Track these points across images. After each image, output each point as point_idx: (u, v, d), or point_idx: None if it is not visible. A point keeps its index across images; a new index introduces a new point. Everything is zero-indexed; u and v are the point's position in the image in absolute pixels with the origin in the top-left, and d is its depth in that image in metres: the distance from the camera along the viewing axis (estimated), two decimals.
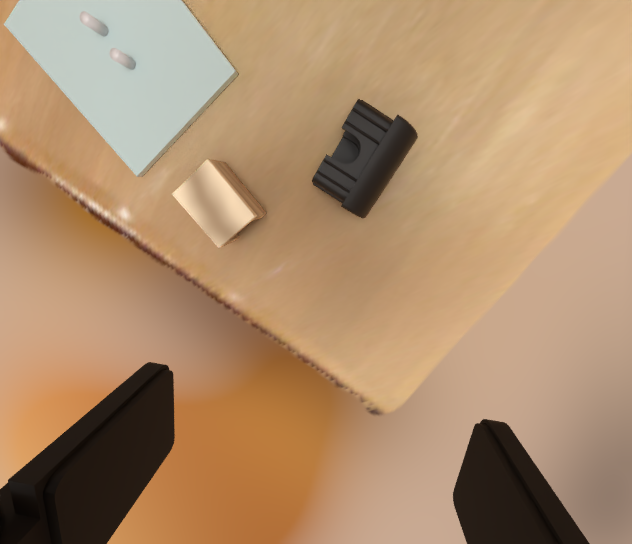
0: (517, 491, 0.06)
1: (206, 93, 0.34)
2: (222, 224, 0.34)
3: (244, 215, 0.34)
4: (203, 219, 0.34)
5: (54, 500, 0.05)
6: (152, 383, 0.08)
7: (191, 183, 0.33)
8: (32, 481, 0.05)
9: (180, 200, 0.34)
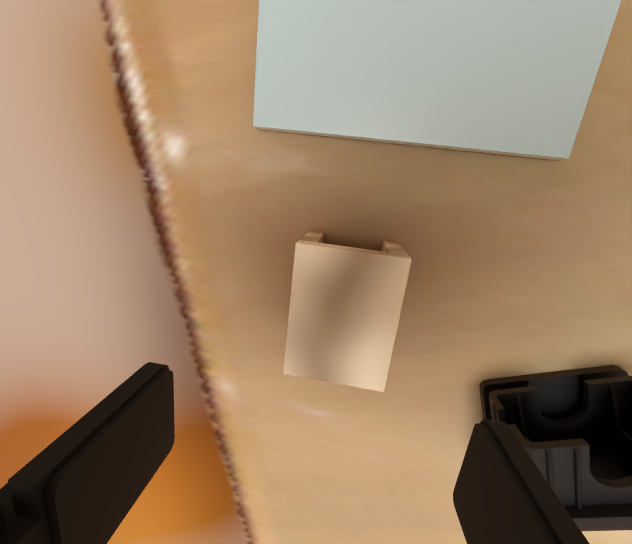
0: (517, 491, 0.06)
1: (492, 138, 0.16)
2: (325, 355, 0.17)
3: (371, 376, 0.17)
4: (304, 322, 0.17)
5: (54, 500, 0.05)
6: (152, 383, 0.08)
7: (344, 262, 0.15)
8: (32, 481, 0.05)
9: (300, 265, 0.16)
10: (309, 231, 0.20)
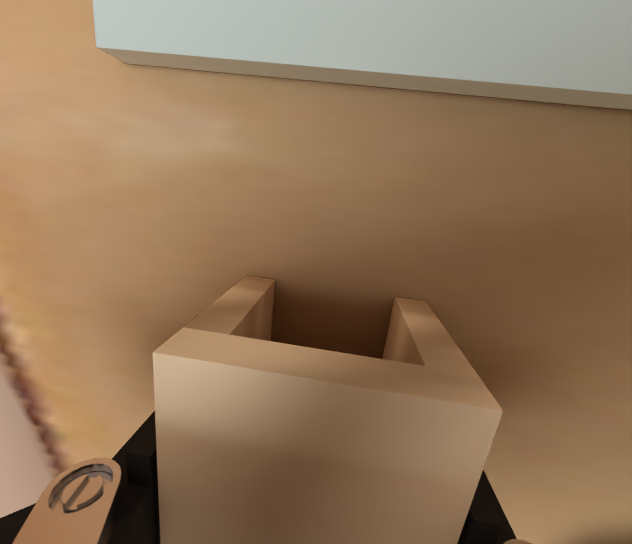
0: None
1: None
2: None
3: None
4: (200, 541, 0.06)
5: None
6: None
7: (298, 409, 0.05)
8: (145, 453, 0.06)
9: (173, 409, 0.05)
10: (243, 278, 0.10)
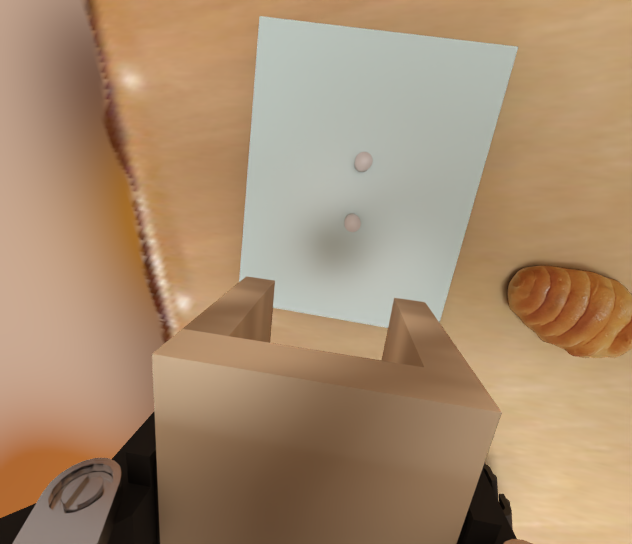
0: None
1: None
2: None
3: None
4: (199, 541, 0.06)
5: None
6: None
7: (297, 410, 0.05)
8: (146, 453, 0.06)
9: (172, 410, 0.06)
10: (243, 279, 0.10)
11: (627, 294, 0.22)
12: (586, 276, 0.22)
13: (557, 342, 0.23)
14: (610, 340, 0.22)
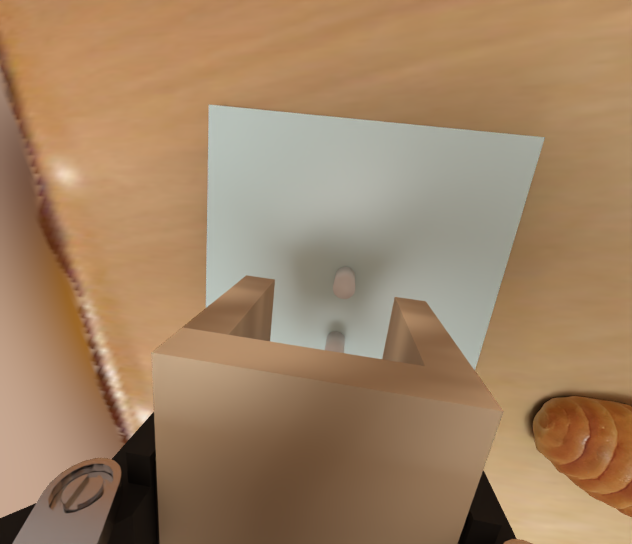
0: None
1: None
2: None
3: None
4: (199, 541, 0.06)
5: None
6: None
7: (297, 409, 0.05)
8: (146, 453, 0.06)
9: (172, 409, 0.05)
10: (243, 278, 0.10)
11: None
12: None
13: (602, 500, 0.18)
14: None
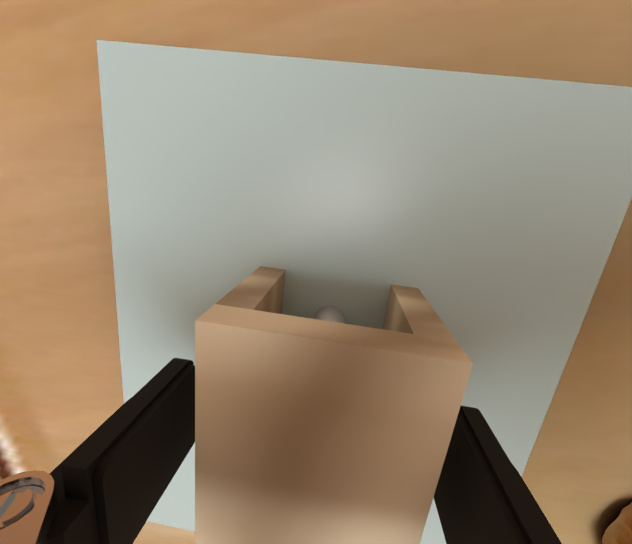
0: (481, 468, 0.07)
1: None
2: (276, 541, 0.08)
3: None
4: (228, 481, 0.08)
5: (103, 484, 0.06)
6: (180, 377, 0.08)
7: (311, 365, 0.07)
8: (83, 466, 0.06)
9: (210, 368, 0.07)
10: (258, 268, 0.11)
11: None
12: None
13: None
14: None
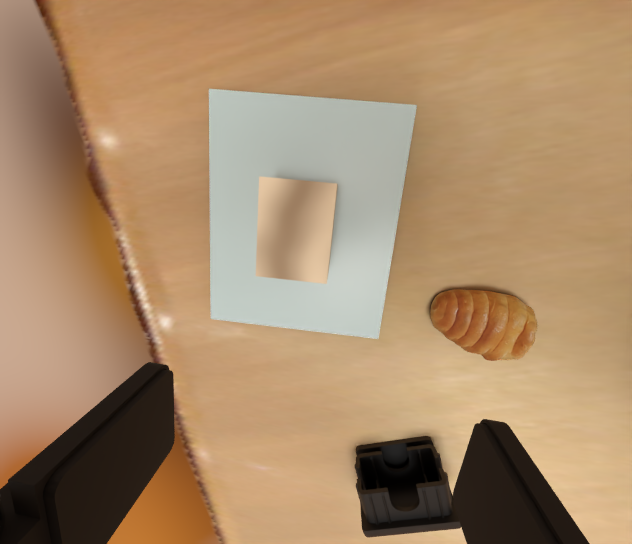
0: (517, 491, 0.06)
1: (338, 328, 0.31)
2: (284, 259, 0.24)
3: (317, 273, 0.24)
4: (268, 235, 0.24)
5: (54, 500, 0.05)
6: (152, 383, 0.08)
7: (293, 188, 0.23)
8: (32, 481, 0.05)
9: (263, 192, 0.23)
10: None
11: (519, 308, 0.27)
12: (486, 297, 0.28)
13: (472, 351, 0.29)
14: (511, 346, 0.28)
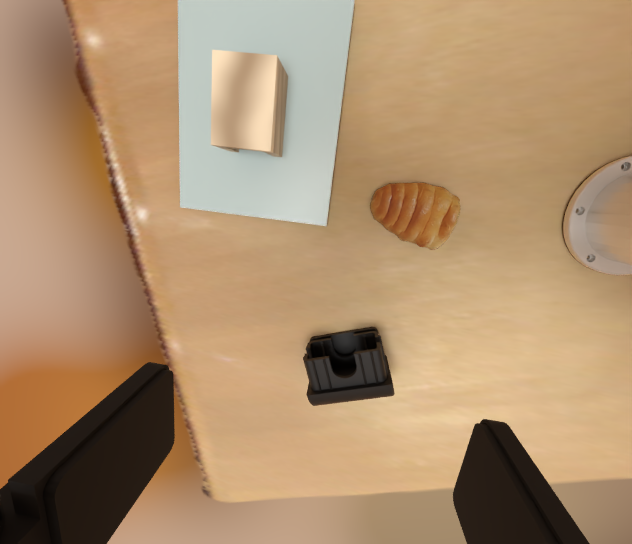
0: (517, 491, 0.06)
1: (291, 216, 0.35)
2: (234, 127, 0.28)
3: (262, 140, 0.28)
4: (220, 105, 0.28)
5: (54, 500, 0.05)
6: (152, 383, 0.08)
7: (240, 60, 0.27)
8: (32, 481, 0.05)
9: (215, 64, 0.27)
10: None
11: (445, 194, 0.31)
12: (416, 185, 0.32)
13: (406, 236, 0.33)
14: (437, 228, 0.31)
